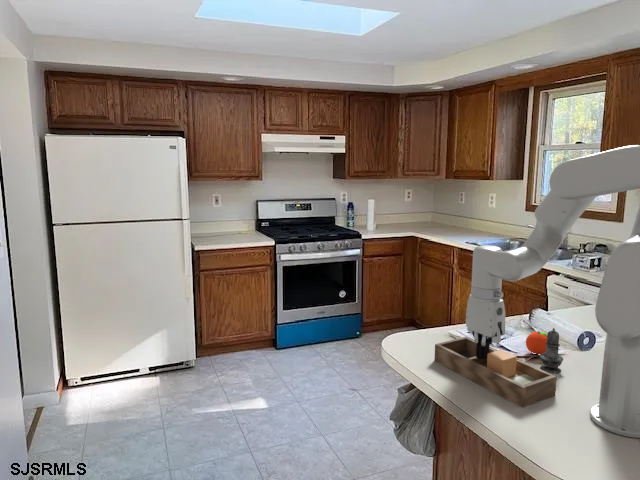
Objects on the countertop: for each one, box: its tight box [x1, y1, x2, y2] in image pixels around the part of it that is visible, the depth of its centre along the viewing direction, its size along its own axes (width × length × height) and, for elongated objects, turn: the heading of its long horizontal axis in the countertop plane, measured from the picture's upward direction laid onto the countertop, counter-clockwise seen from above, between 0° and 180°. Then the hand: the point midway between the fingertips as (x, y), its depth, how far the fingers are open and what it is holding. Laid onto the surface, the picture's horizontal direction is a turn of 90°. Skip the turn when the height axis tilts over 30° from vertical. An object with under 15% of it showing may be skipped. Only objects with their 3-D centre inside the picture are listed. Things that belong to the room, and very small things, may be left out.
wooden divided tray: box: [434, 336, 558, 408], centre depth 127 cm, size 30×12×5 cm, turn 28°
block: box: [487, 349, 518, 377], centre depth 123 cm, size 5×5×5 cm
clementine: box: [525, 331, 548, 354], centre depth 140 cm, size 8×7×7 cm
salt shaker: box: [539, 327, 564, 375], centre depth 130 cm, size 6×6×12 cm
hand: (482, 357), depth 129 cm, fingers closed
